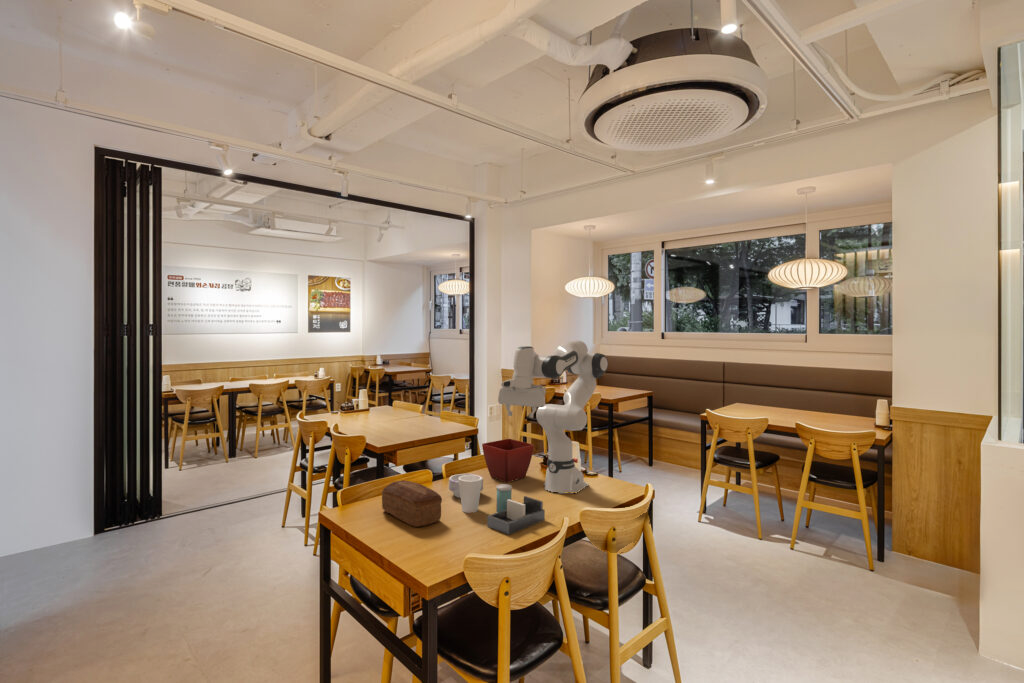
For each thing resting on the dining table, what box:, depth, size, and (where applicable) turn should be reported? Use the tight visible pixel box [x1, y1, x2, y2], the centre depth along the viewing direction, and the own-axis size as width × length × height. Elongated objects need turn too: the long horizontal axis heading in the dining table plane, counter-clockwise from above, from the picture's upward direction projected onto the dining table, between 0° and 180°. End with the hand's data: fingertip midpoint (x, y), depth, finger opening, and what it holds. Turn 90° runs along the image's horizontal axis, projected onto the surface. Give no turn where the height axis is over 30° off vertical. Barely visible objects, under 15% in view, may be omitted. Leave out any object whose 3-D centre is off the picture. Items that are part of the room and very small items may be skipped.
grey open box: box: [486, 495, 546, 536], centre depth 185 cm, size 20×11×7 cm, turn 137°
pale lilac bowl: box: [448, 473, 484, 499], centre depth 216 cm, size 15×15×8 cm
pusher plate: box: [507, 499, 525, 520], centre depth 184 cm, size 1×8×7 cm, turn 46°
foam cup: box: [459, 474, 483, 514], centre depth 198 cm, size 10×9×13 cm
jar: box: [495, 483, 513, 513], centre depth 198 cm, size 6×6×10 cm
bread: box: [381, 480, 443, 528], centre depth 190 cm, size 14×28×12 cm, turn 44°
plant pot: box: [481, 438, 535, 483], centre depth 245 cm, size 19×19×17 cm
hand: (520, 416), depth 206 cm, fingers open, 8 cm apart
